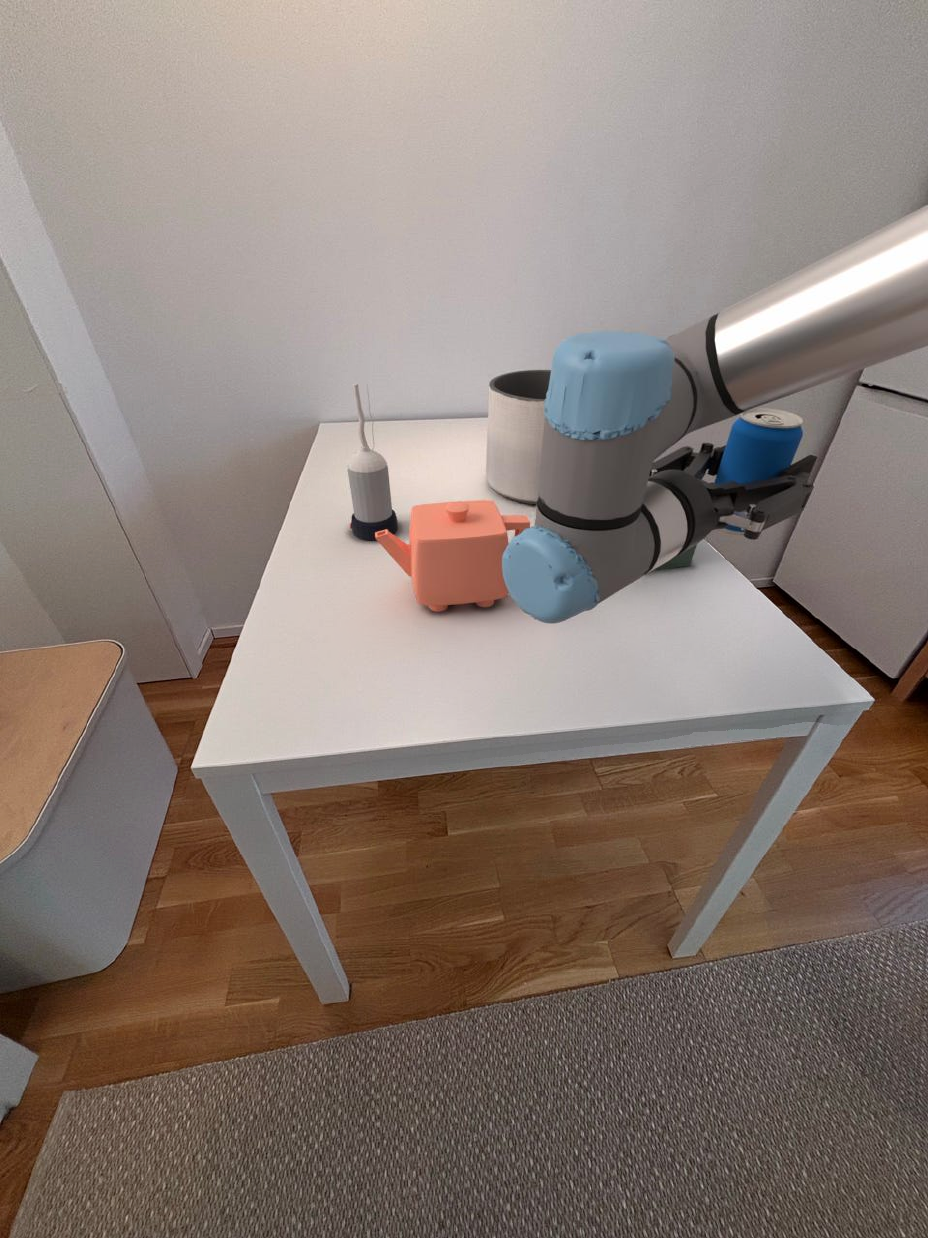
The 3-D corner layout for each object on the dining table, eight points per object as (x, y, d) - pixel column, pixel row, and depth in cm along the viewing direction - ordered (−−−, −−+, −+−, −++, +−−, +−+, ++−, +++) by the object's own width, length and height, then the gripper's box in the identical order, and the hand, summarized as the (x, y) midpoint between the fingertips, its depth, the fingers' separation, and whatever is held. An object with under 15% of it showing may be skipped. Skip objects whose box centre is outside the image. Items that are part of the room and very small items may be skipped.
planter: (607, 478, 111) (625, 378, 99) (563, 519, 97) (577, 408, 84) (517, 457, 121) (523, 363, 108) (465, 491, 106) (465, 388, 94)
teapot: (384, 622, 73) (372, 534, 64) (382, 573, 83) (371, 491, 74) (535, 608, 75) (544, 521, 67) (516, 562, 85) (521, 481, 76)
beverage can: (752, 512, 61) (792, 407, 54) (772, 540, 56) (820, 428, 49) (696, 510, 62) (728, 406, 54) (711, 537, 57) (748, 426, 49)
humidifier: (346, 525, 95) (322, 381, 80) (387, 515, 98) (372, 374, 83) (361, 545, 90) (339, 394, 74) (405, 533, 93) (392, 386, 77)
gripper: (564, 519, 54) (687, 464, 65) (742, 606, 42) (854, 520, 54) (574, 449, 49) (704, 402, 61) (776, 524, 38) (891, 449, 49)
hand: (774, 458), depth 57 cm, fingers closed on beverage can, 6 cm apart
